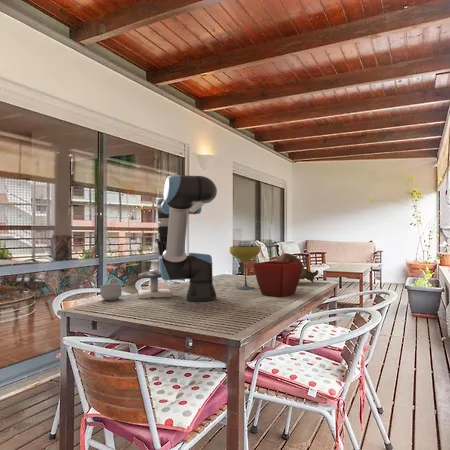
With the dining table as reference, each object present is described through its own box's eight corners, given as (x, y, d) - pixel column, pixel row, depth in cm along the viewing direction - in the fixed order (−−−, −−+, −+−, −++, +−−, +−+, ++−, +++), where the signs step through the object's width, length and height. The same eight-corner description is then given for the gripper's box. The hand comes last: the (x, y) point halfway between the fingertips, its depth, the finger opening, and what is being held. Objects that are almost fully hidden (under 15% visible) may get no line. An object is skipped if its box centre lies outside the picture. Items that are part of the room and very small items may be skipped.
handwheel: (149, 278, 199) (149, 264, 199) (132, 277, 211) (132, 263, 211) (175, 275, 211) (175, 262, 211) (157, 274, 223) (157, 261, 223)
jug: (269, 285, 238) (317, 293, 237) (274, 255, 234) (323, 262, 233) (267, 275, 258) (311, 282, 257) (272, 247, 254) (317, 254, 253)
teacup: (115, 301, 192) (115, 285, 193) (95, 301, 195) (95, 285, 195) (128, 297, 206) (127, 282, 206) (109, 297, 208) (109, 282, 208)
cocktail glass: (262, 290, 219) (260, 246, 220) (230, 290, 219) (229, 247, 220) (259, 286, 237) (258, 245, 238) (230, 286, 237) (229, 246, 238)
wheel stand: (171, 296, 204) (171, 277, 204) (138, 298, 200) (138, 279, 200) (168, 292, 221) (168, 274, 221) (138, 293, 217) (138, 276, 217)
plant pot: (304, 293, 201) (303, 261, 202) (283, 298, 187) (282, 264, 188) (274, 291, 214) (273, 261, 215) (253, 295, 200) (252, 263, 201)
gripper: (152, 226, 216) (153, 268, 215) (167, 225, 208) (168, 269, 207) (162, 226, 222) (163, 267, 221) (177, 225, 214) (178, 267, 213)
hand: (165, 268), depth 214 cm, fingers closed
